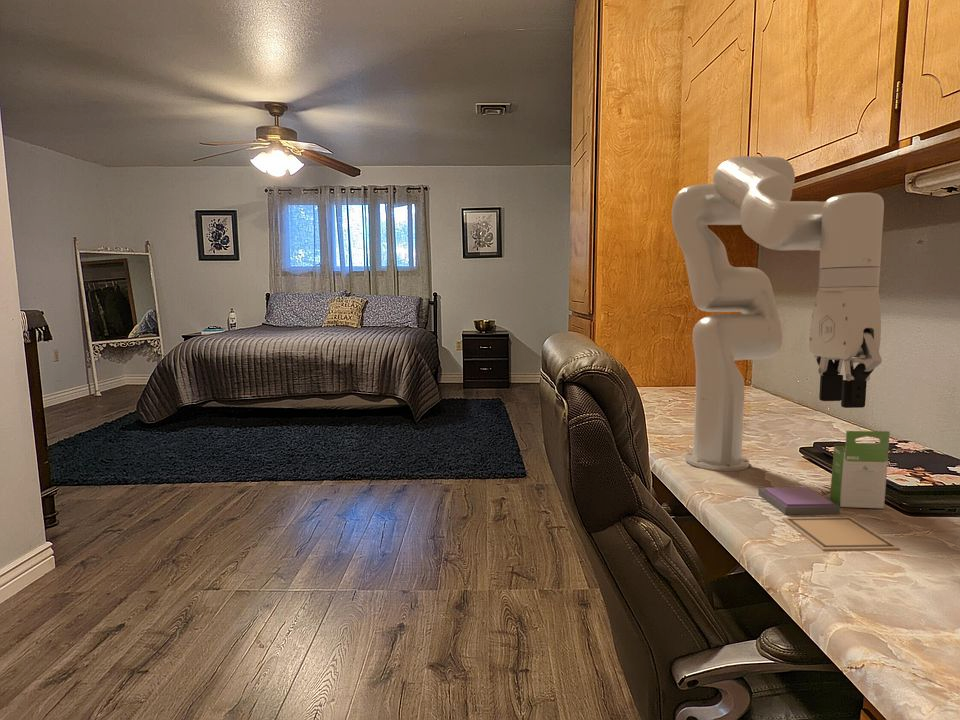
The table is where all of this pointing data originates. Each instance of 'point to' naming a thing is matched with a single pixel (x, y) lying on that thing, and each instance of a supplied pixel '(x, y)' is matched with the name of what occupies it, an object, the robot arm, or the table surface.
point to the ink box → (860, 471)
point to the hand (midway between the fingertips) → (841, 402)
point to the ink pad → (798, 501)
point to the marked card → (839, 534)
